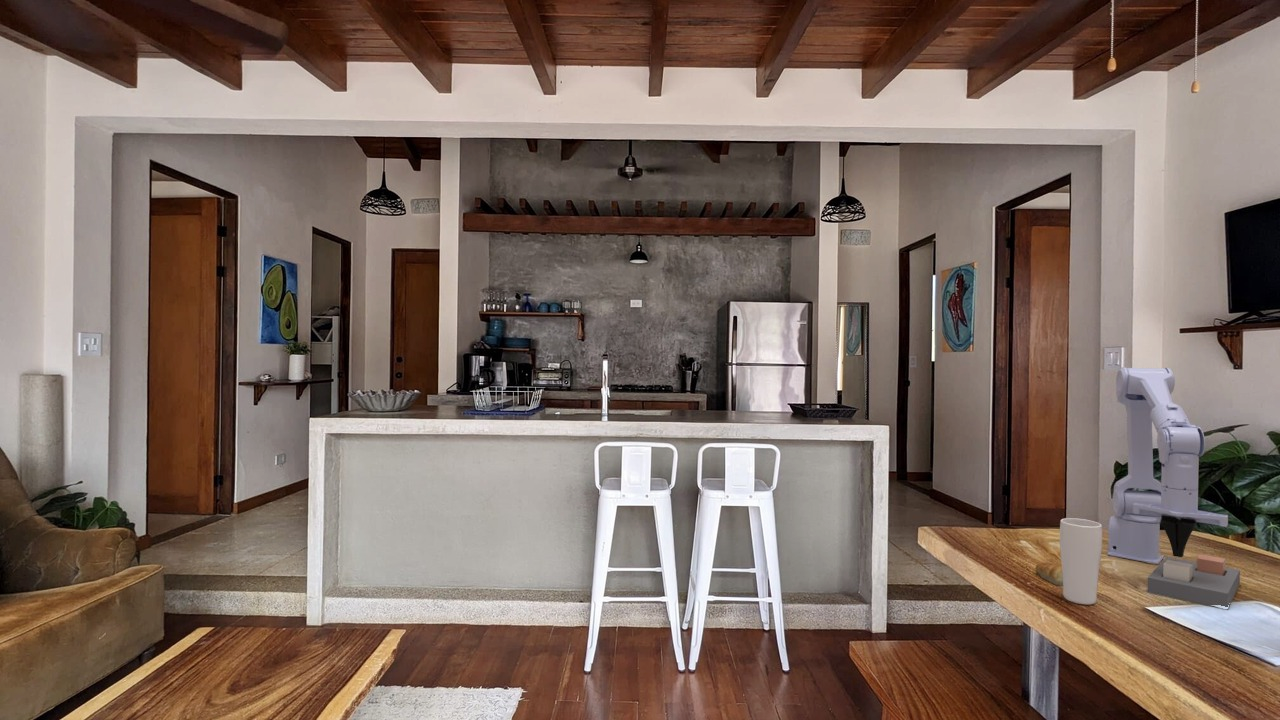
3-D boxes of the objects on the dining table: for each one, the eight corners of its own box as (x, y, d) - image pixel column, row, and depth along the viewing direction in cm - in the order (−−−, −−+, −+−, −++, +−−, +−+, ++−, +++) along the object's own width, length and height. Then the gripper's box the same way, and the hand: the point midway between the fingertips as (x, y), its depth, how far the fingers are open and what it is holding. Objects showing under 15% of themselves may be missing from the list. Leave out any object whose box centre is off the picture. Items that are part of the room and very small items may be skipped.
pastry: (1026, 573, 145) (1026, 555, 145) (1053, 572, 146) (1054, 554, 146) (1060, 588, 136) (1060, 569, 136) (1089, 587, 137) (1089, 568, 137)
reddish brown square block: (1196, 572, 138) (1197, 558, 138) (1199, 568, 141) (1200, 554, 141) (1222, 577, 135) (1222, 562, 135) (1225, 573, 138) (1225, 558, 138)
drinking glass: (1101, 609, 124) (1103, 528, 124) (1058, 602, 128) (1059, 523, 128) (1100, 598, 130) (1101, 521, 130) (1058, 591, 134) (1059, 516, 133)
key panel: (1147, 592, 133) (1147, 577, 133) (1166, 570, 147) (1166, 556, 147) (1227, 609, 125) (1227, 593, 125) (1239, 584, 138) (1239, 569, 138)
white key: (1163, 579, 134) (1163, 564, 134) (1166, 574, 137) (1167, 559, 137) (1188, 584, 131) (1189, 568, 131) (1192, 579, 134) (1192, 564, 134)
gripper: (1130, 484, 136) (1129, 551, 136) (1225, 496, 126) (1223, 568, 126) (1138, 480, 141) (1136, 544, 141) (1229, 490, 130) (1228, 560, 131)
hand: (1178, 555), depth 134 cm, fingers closed
